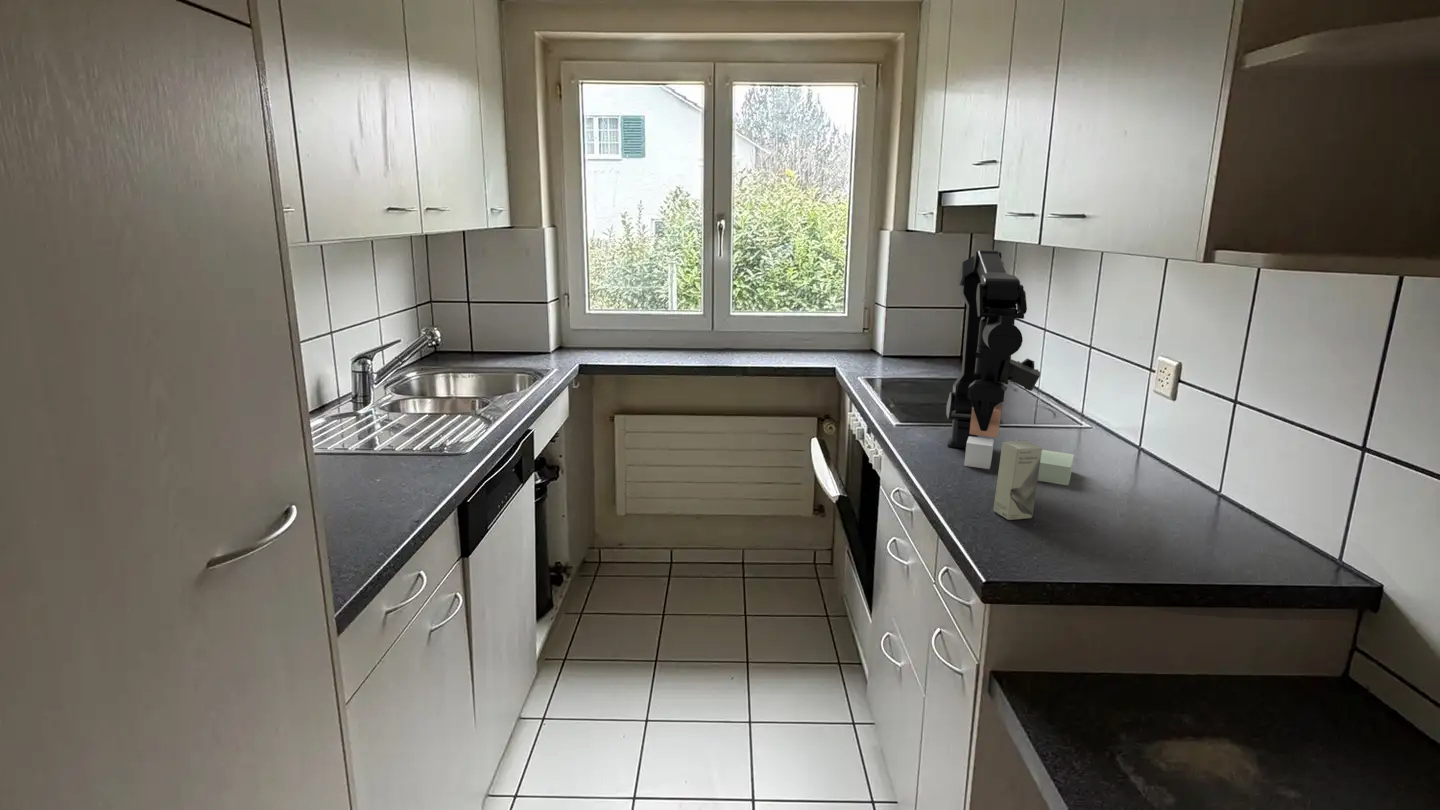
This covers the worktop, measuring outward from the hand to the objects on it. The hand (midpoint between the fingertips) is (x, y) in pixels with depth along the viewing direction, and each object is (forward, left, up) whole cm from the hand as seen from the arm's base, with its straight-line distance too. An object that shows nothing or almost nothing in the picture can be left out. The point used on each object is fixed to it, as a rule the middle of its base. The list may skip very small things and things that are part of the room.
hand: (984, 427), depth 147 cm
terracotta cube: (0, 0, -1) cm, 1 cm away
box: (+15, +7, -11) cm, 20 cm away
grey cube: (-11, -1, -11) cm, 16 cm away
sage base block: (-10, +12, -11) cm, 19 cm away
